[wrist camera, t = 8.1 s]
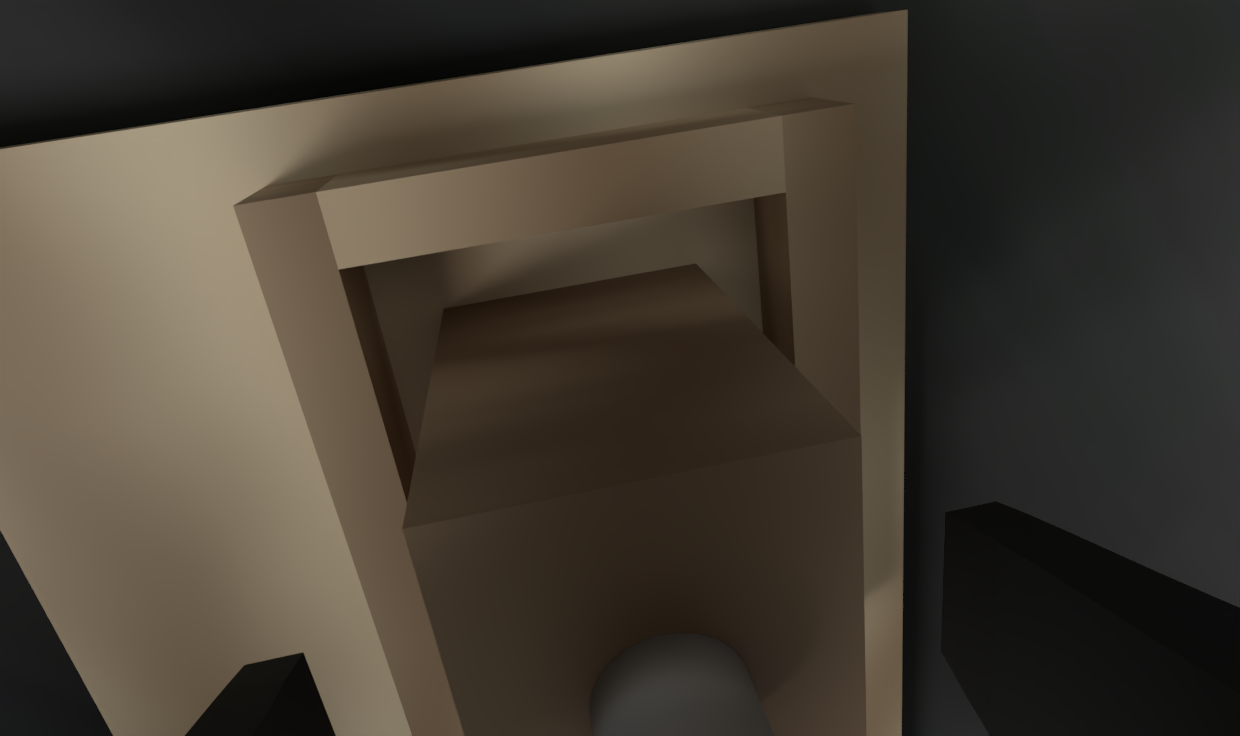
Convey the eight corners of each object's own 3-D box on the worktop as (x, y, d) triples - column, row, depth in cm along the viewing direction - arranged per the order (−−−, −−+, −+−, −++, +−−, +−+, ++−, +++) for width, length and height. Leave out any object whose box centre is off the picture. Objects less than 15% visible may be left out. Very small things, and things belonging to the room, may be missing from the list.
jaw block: (507, 570, 14) (518, 991, 8) (443, 308, 12) (391, 589, 6) (722, 525, 14) (903, 894, 8) (696, 263, 12) (906, 482, 6)
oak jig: (319, 1046, 20) (296, 1177, 17) (-136, 168, 11) (-301, 199, 9) (882, 901, 21) (930, 1006, 19) (877, 12, 12) (965, 3, 10)
